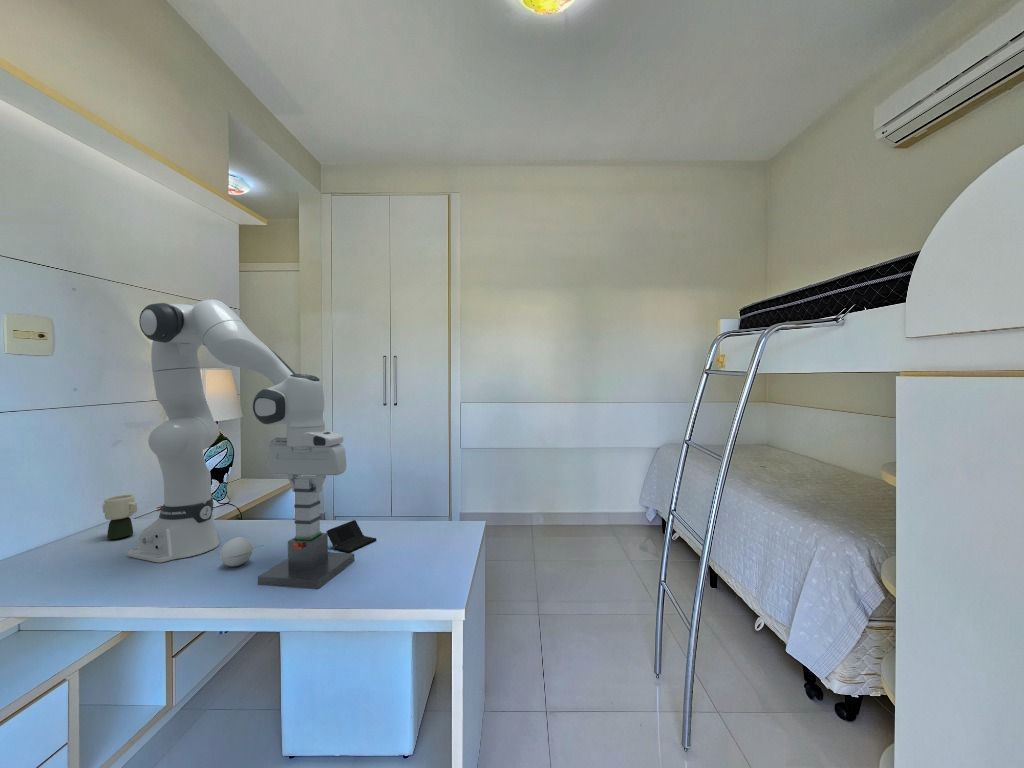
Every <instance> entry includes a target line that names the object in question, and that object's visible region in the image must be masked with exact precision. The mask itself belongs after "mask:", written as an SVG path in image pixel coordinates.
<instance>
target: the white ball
mask: <svg viewBox="0 0 1024 768" xmlns="http://www.w3.org/2000/svg"><path fill="white" fill-rule="evenodd" d="M263 546H264V544H263V545H259V546H255V547H253V544H252V543H251V541H250V540H249V539H248V538H245V537H241V536H237V537H233V538H231V539H228V541H226V542H225V543H224V544H223V545H222V547H221V549H220V551H219V557H220V560H221V562H222V563H223V564H224V565H226V566H228V567H240V566H241V565H243V564H245V563H246V562H247V561H248V560H249V559H250V557H251V555H252V554H253V549H255V548H258V547H259V548H261V547H263Z"/></svg>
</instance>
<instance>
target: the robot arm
mask: <svg viewBox="0 0 1024 768" xmlns="http://www.w3.org/2000/svg"><path fill="white" fill-rule="evenodd" d="M138 321H139V323H138V324H139V327H140V331H141V333H143V335H144V336H145V337H146V338H147V339H148V340H150V341H152V343H151V352H150V353H151V355H150V358H151V360H150V361H151V370H152V371H151V372H152V376H153V377H152V378H153V382H154V383H153V385H154V389H155V390H154V391H155V396H156V399H157V401H158V403H159V404H160V405H161V406H162V408H163V409H164V412H165V414H166V417H167V418H168V420H166V421H163V422H161V423H160V424H158V425H157V426H155V428H153V429H152V431H151V432H150V434H149V435H148V436H149V437H148V440H147V441H148V446H149V448H150V449H149V450H151V451H152V453H154V454H155V455H156V458H157V461H158V465H159V466H160V469H161V473H162V479H163V501H164V503H163V505H160V506H157V507H156V512H159V516H158V518H157V519H155V520H154V521H153V522H151V524H150V525H148V526H147V527H146V528H145V529H143V530H142V531H141V532H140V534H139V537H138V546H136V547H134V548H132V549H131V550H129V551H128V552H127V557H129V558H133V559H138V560H143V561H149V562H153V563H165V562H168V561H172V560H177V559H183V558H184V559H185V558H189V557H193V556H196V555H197V556H198V555H201V554H204V553H206V552H209V551H212V550H214V549H215V548H217V547H218V546H219V544H220V542H219V535H217V530H216V524H215V523H216V522H215V520H214V519H215V517H214V514H213V511H214V503H215V502H214V498H213V497H212V478H211V477H212V475H211V471H210V469H209V468H208V466H207V463H206V460H205V456H204V450H207V449H208V448H209V447H211V446H212V445H213V444H214V443H216V441H217V439H218V438H219V435H220V429H219V425H218V423H217V422H216V421H215V420H214V418H213V414H212V411H211V410H210V409H211V408H210V406H209V403H208V401H207V398H206V396H205V395H206V394H205V391H204V386H203V385H204V384H203V379H202V373H201V366H200V361H199V357H198V351H199V349H200V347H201V346H202V345H203V346H204V347H205V348H206V349H207V350H208V352H209V353H210V354H211V355H212V356H214V358H215V359H217V360H218V361H219V362H221V363H223V364H224V365H228V366H232V367H235V368H236V367H237V368H241V369H246V370H248V371H249V370H250V371H253V372H256V373H259V374H261V375H263V376H265V377H266V378H267V379H268V380H269V381H270V382H271V383H272V384H273V386H270V387H267V388H264V389H261V390H259V392H257V394H255V396H254V398H253V403H252V412H253V414H254V416H255V418H256V420H257V421H259V422H260V424H263V425H270V426H274V425H286V426H285V427H286V437H274V439H273V438H272V440H271V441H270V442H269V446H268V447H269V452H268V458H267V471H268V473H269V474H271V475H287V480H288V481H289V483H290V485H291V489H292V490H291V491H292V492H293V493H295V492H294V489H295V479H296V478H299V475H303V476H316V479H318V481H317V483H316V485H314V486H313V492H315V493H319V494H320V493H321V492H323V484H324V482H325V480H326V478H327V476H339V475H342V474H344V473H345V472H346V469H347V455H346V450H345V447H344V446H343V444H342V443H343V442H344V436H343V435H342V434H340V433H337V432H334V431H331V430H328V429H326V428H325V427H326V426H325V421H324V411H325V395H324V387H323V384H322V380H321V379H320V378H319V377H317V376H315V375H313V374H312V375H311V374H303V373H296V372H295V371H294V370H293V369H292V368H291V367H290V366H289V364H287V363H286V361H284V360H283V358H281V357H280V356H279V355H278V353H276V352H275V351H274V350H273V349H271V347H268V346H267V344H265V343H264V342H262V341H261V340H260V339H259V338H258V337H257V336H256V335H255V334H254V333H253V332H252V331H251V330H250V329H249V328H248V327H247V325H246V324H245V322H244V321H243V320H242V319H241V318H240V317H239V315H237V313H236V312H235V311H233V309H231V308H230V307H229V306H228V305H227V304H225V303H224V302H223V301H220V300H217V299H213V298H212V299H205V300H201V301H199V302H198V303H196V304H193V303H166V302H158V303H157V302H156V303H152V304H148V305H146V306H145V307H144V308H142V311H141V312H140V314H139V320H138Z"/></svg>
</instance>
